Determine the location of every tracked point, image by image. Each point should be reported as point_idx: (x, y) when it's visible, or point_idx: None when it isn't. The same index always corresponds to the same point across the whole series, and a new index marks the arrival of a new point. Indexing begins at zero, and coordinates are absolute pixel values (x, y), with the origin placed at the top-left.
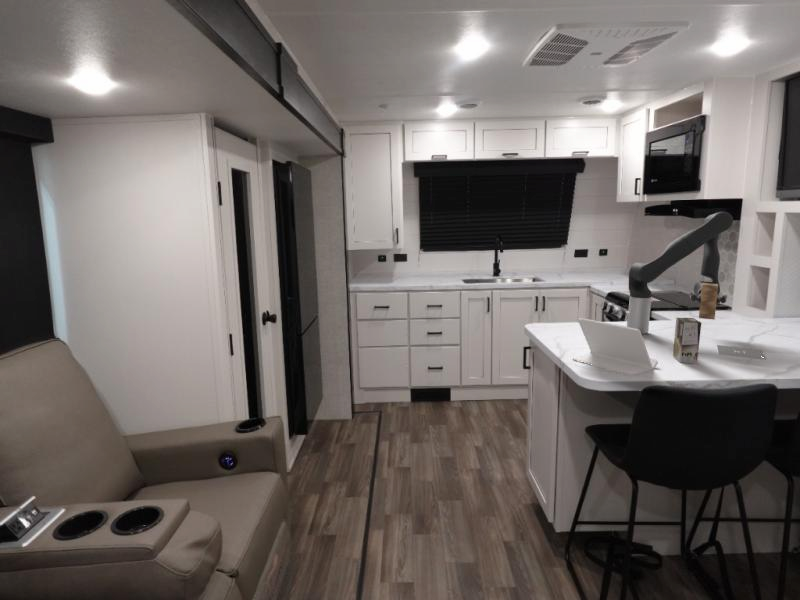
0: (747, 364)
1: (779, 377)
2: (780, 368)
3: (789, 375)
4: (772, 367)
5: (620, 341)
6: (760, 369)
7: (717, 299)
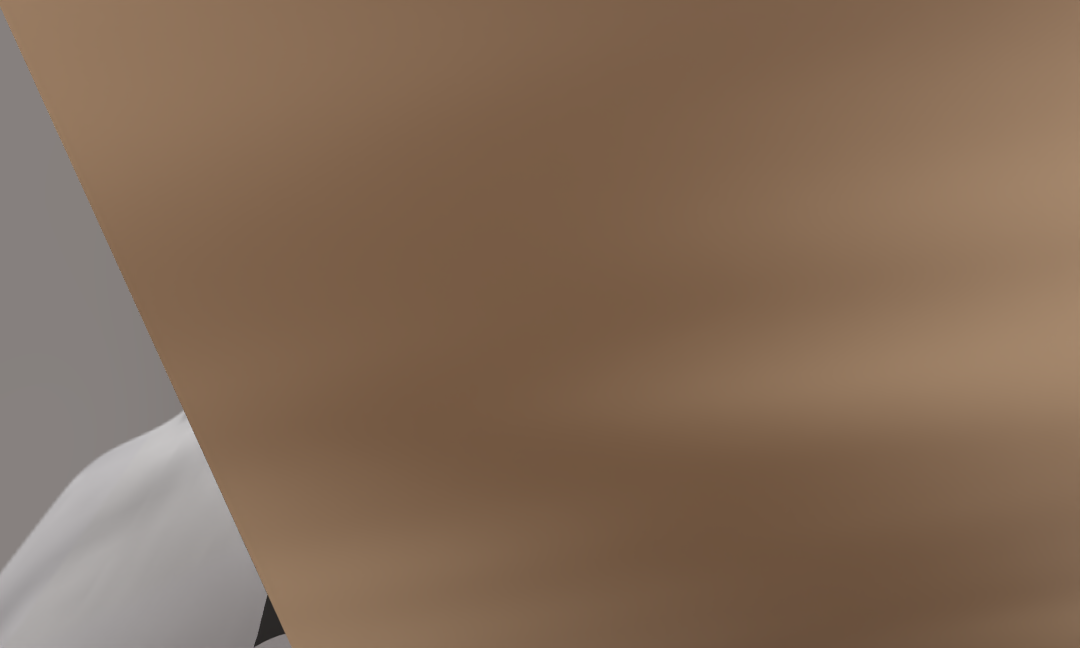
0: (262, 604)
1: (162, 441)
2: (30, 638)
3: (72, 505)
4: (85, 631)
5: None
6: (210, 530)
7: None
